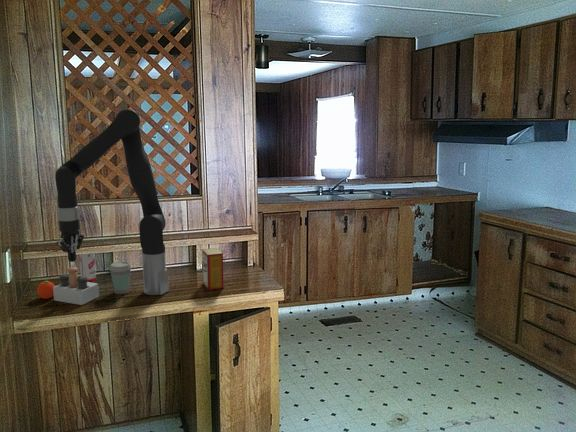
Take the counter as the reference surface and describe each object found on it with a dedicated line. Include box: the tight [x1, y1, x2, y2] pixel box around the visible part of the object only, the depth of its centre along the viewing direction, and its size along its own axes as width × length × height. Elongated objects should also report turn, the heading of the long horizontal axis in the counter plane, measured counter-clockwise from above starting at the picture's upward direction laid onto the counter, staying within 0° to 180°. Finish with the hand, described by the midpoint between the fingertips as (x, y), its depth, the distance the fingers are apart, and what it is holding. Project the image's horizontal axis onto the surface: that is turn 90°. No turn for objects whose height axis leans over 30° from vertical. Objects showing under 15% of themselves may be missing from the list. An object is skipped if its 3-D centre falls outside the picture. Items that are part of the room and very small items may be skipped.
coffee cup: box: [109, 261, 132, 295], centre depth 217 cm, size 8×8×12 cm
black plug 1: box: [59, 273, 70, 287], centre depth 210 cm, size 4×4×8 cm
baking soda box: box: [201, 247, 224, 291], centre depth 225 cm, size 10×6×16 cm
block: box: [53, 282, 100, 306], centre depth 210 cm, size 14×10×6 cm
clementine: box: [36, 280, 56, 300], centre depth 210 cm, size 8×7×7 cm
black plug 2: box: [77, 276, 88, 290], centre depth 207 cm, size 4×4×8 cm
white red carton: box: [78, 252, 97, 283], centre depth 228 cm, size 6×6×16 cm
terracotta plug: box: [67, 266, 79, 288], centre depth 208 cm, size 4×4×8 cm
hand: (72, 261), depth 206 cm, fingers closed
